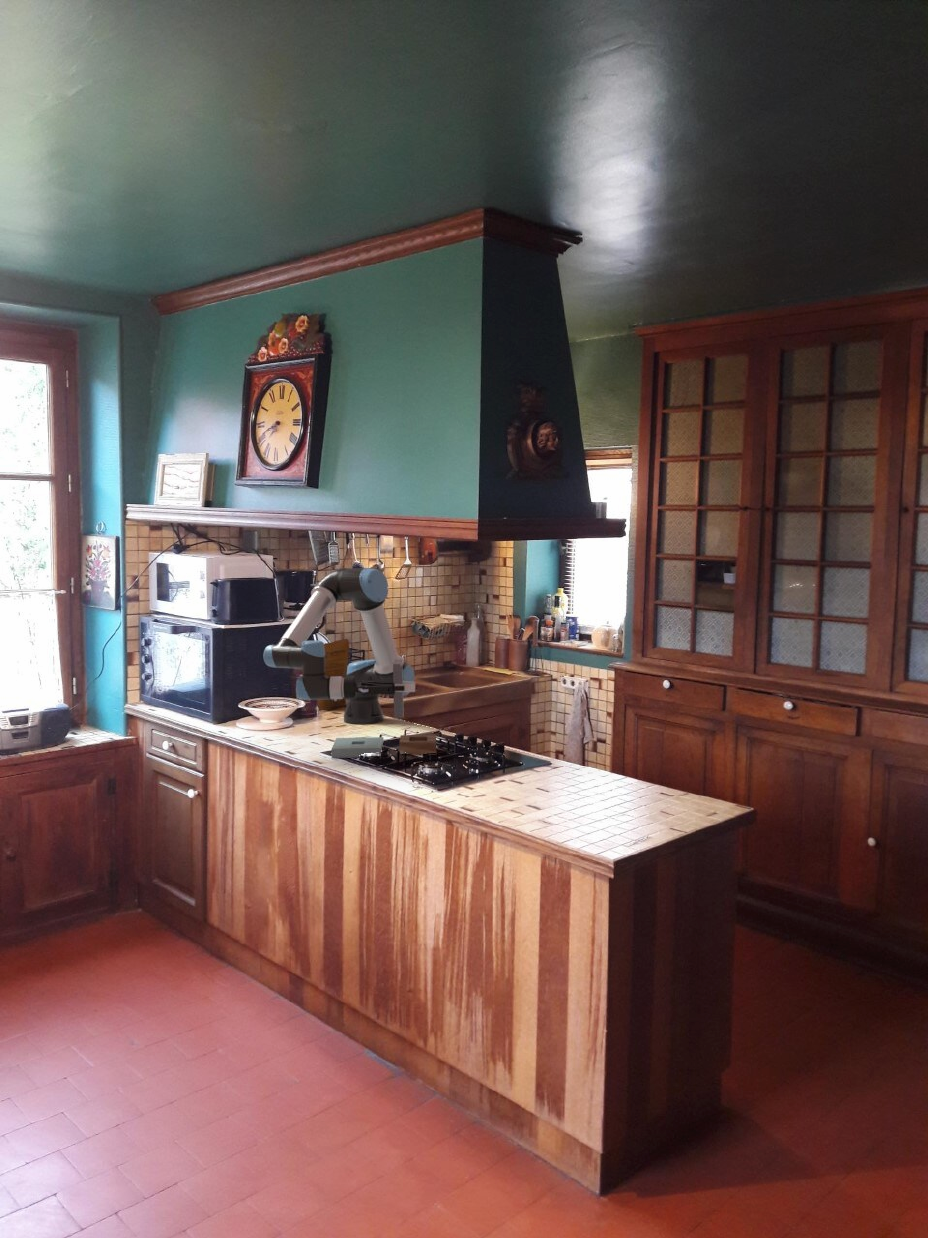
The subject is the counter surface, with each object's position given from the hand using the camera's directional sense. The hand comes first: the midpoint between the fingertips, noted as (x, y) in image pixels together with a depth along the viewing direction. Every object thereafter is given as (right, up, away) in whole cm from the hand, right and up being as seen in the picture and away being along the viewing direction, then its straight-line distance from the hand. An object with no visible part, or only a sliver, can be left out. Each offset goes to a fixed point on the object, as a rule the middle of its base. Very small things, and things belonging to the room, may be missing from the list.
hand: (414, 686), depth 329 cm
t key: (-5, -10, +1) cm, 11 cm away
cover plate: (-19, -22, +3) cm, 29 cm away
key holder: (+1, -22, +4) cm, 22 cm away
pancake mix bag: (-37, -14, +81) cm, 90 cm away
